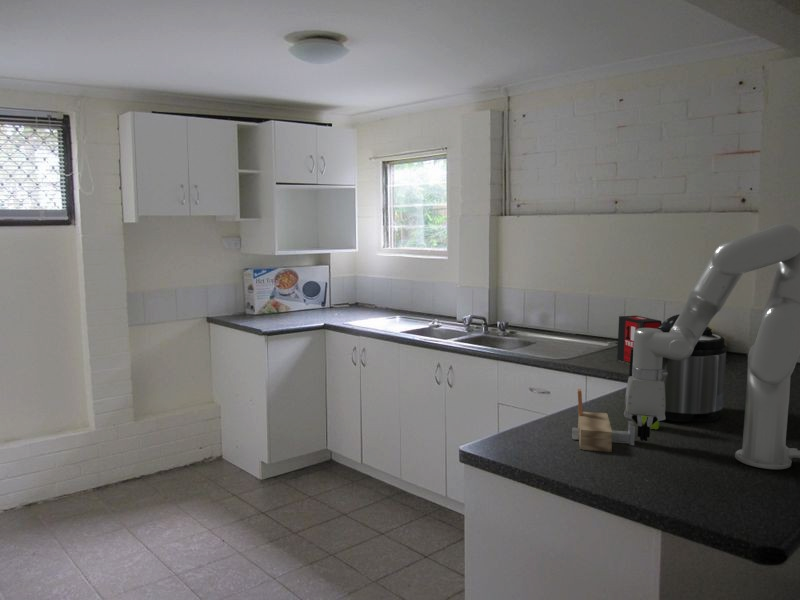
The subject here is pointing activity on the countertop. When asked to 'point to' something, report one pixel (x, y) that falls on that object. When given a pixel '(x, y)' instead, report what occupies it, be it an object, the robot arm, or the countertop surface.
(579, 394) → the bar
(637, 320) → the cleaning product box
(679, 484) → the countertop surface
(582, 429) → the block
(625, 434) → the lynch pin
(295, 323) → the countertop surface
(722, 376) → the pressure cooker
